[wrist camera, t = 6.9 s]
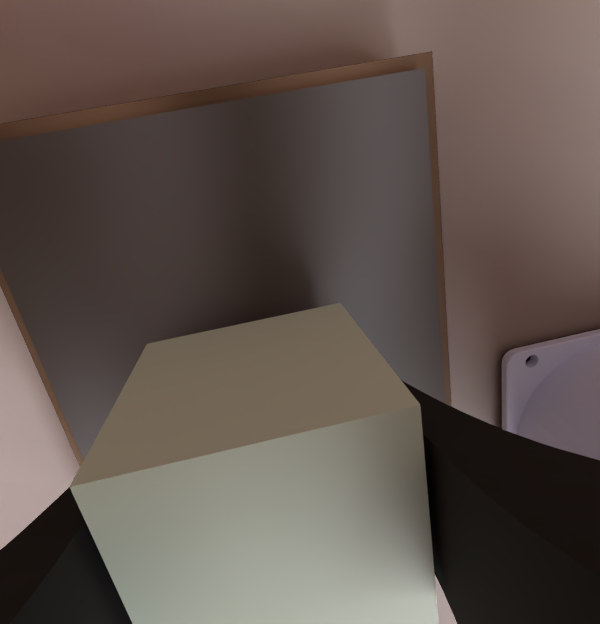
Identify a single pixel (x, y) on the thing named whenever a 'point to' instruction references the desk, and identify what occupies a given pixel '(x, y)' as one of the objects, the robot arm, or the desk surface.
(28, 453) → the desk surface
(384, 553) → the sage block
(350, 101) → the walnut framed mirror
